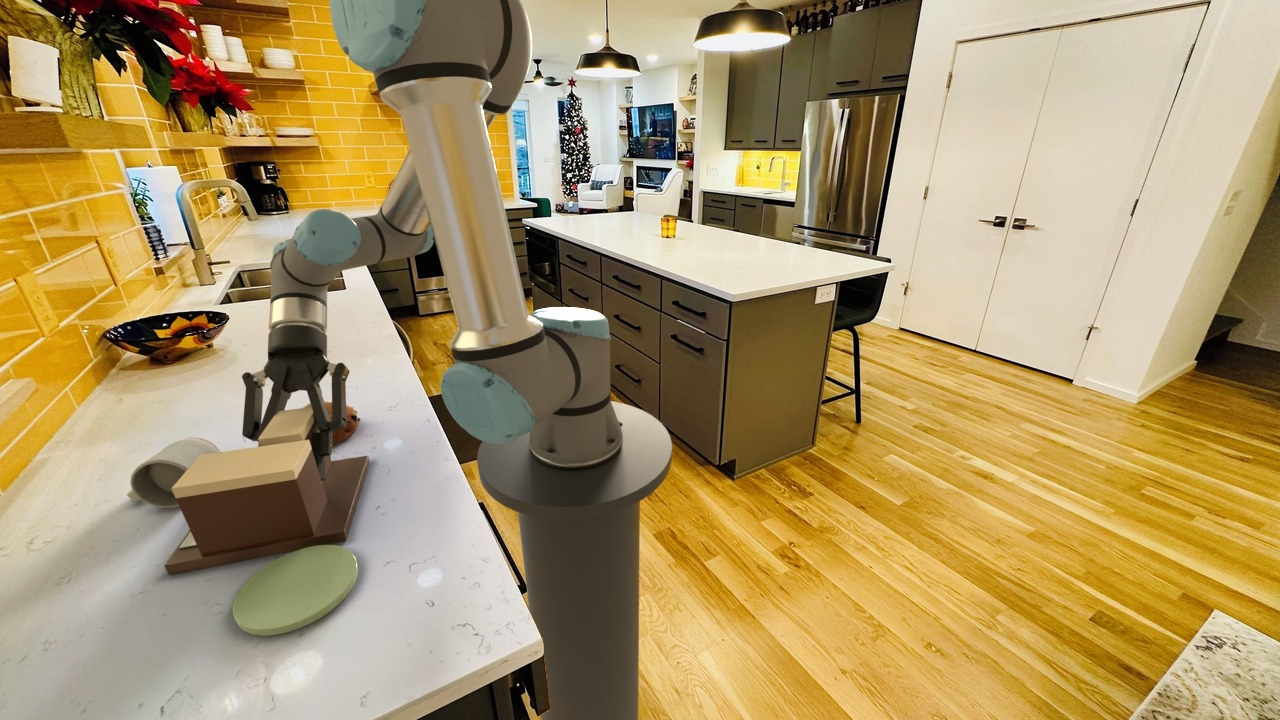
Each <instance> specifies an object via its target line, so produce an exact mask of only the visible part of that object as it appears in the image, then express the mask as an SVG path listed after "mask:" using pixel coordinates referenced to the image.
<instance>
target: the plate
mask: <svg viewBox="0 0 1280 720" xmlns="http://www.w3.org/2000/svg"><path fill="white" fill-rule="evenodd" d="M357 561H358V560H357V557H356V556H355V554H354V553H353V552H352V551H351V550H349V549H348V548H345V547H343V546H340V545H337V544H336V545H335V544H326V545H317V546H311V547H307V548H303V549H300V550H295V551H290V552H288V553H287V554H284V555H282V556H280V557H278V558H276V559H275V560H272V561H271V562H269V563H268V564H266V565H264V566H263V567H262V568H261V569H259V570H258V571H257V572H256V573H254V574H253V575H252V576H251V577H249V579H248V580H247V581H246V582H245V583H244V585H242V586H241V588H240V589H239V591H238V592H237V594H236V595H235V599H234V601H233V605H232V615H233V618H234V620H235V623H236V624H237V626H238V627H239V628H240V629H241V630H242V631H243V632H245V633H247V634H250V635H253V636H260V637H270V636H277V635H284V634H287V633H290V632H294V631H296V630H299V629H302V628H304V627H306V626H308V625H310V624H312V623H314V622H316V621H319V619H321V618H323V617H324V616H326V615H327V614H329V613H330V612H331V611H333V610H334V609H335V608H336V607H338V606H339V605H340V604H341V603H342V602H343V601H344V600H345V599H346V598H347V597H348V596H349V594H350V592H351V591H352V590H353V588H354V586H355V584H356V583H357V580H358V576H359V565H358V562H357Z"/></svg>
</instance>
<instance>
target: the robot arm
mask: <svg viewBox="0 0 1280 720" xmlns="http://www.w3.org/2000/svg"><path fill="white" fill-rule="evenodd" d="M329 11H330V18H331V24H332V28H333V31H334V34H335V37H336V40H337V42H338V44H339V46H340V48H341V50H342V51H343V53H344V54H345V55H347V56H348V58H349V60H350V61H351V62H352V63H353V64H354V65H356V66H358V67H360V68H361V69H363V70H364V71H366V72H370V73H373V77H374V81H375V84H376V88H377V91H378V95H379V97H380V100H381V101H382V103H384V104H386V105H387V106H388V107H390V108H391V109H393V110H394V111H395V112H397V114H398V115H399V116H400V117H401V121H402V125H403V129H404V132H405V136H406V139H407V143H408V147H409V150H408V151H407V153H406V155H405V157H404V159H403V162H402V164H401V165H400V168H399V170H398V172H397V173H396V175H395V178H394V180H393V181H392V183H391V185H390V188H389V189H388V191H387V194H386V196H385V198H384V200H383V202H382V203H381V205H380V207H379V209H378V212H377V213H376V214H373V215H372V214H371V215H367V216H366V215H365V216H359V217H349V216H348V215H346V214H345V213H343V212H341V211H335V210H331V208H330V209H329V208H319V209H316V210H313V211H311V212H310V213H309V214H307V215H306V216H305V218H304V219H303V220H302V221H301V222H300V224H299V225H298V226H296V228H295V230H294V232H293V235H292V237H291V238H289V239H285V240H284V241H281V242H278V243H276V245H275V246H274V248H273V251H272V257H271V258H272V259H270V260H271V261H270V264H269V265H270V266H269V267H270V271H271V272H270V273H271V275H270V299H269V300H270V301H269V303H270V304H269V306H270V307H269V316H268V317H269V318H268V330H269V333H268V339H267V361H266V363H265V365H264V366H263V369H261V370H259V371H256V372H253V373H251V372H248V371H246V372H244V373H243V374H241V379H242V381H243V384H244V386H245V393H244V408H243V418H242V431H241V432H242V433H241V435H242V437H244V438H246V439H248V440H250V441H252V442H257V447H260V445H259V442H258V438H259V437H260V435H261V434H262V432H263V431H264V430H265V428H266V427H267V425H268V424H269V423H270V421H271V420H272V418H273V417H274V416H275V415H276V414H277V413H278V412H279V411H283V410H286V407H287V403H288V400H290V399H291V397H292V394H293V393H296V392H299V391H306V394H307V396H308V400H309V404H310V403H311V406H312V409H313V413H314V416H315V419H316V422H317V425H318V427H317V429H318V430H320V433H319V432H315V433H313V437H312V451H313V455H314V458H315V461H316V465H317V468H318V471H319V475H320V478H321V481H324V480H325V456H329V455H330V456H331V455H332V454H333V445H332V435H333V433H334V432H335V431H337V430H339V429H344V428H346V426H347V419H346V405H347V392H346V389H347V387H346V385H347V384H346V382H347V379H348V377H349V374H350V370H349V368H348V367H347V366H346V364H344V362H338V363H331V362H330V361H329V359H328V335H327V333H328V290H329V286H330V285H331V283H333V282H334V281H335V279H336V278H337V276H338V275H339V274H340V273H341V272H343V271H346V270H351V269H352V270H353V269H356V268H362V267H367V266H371V265H375V264H380V263H384V262H390V261H395V260H400V259H404V258H413V257H415V256H416V257H417V255H420V254H424V253H426V252H429V250H431V248H432V247H433V245H434V243H435V246H436V250H437V254H438V257H439V261H440V266H441V269H442V272H443V276H444V280H445V284H446V287H447V290H448V294H449V298H450V303H451V305H452V309H453V313H454V317H455V320H456V323H457V330H456V332H455V333H454V335H453V336H452V338H451V340H450V342H449V347H450V350H451V354H452V359H453V362H454V363H453V364H451V365H450V366H449V367H448V368H447V369H446V370H445V371H444V373H443V374H442V379H441V381H440V392H441V396H442V401H443V403H444V404H445V407H446V409H447V410H448V412H449V414H450V415H451V417H452V418H453V419H454V420H455V422H456V424H458V425H459V427H461V428H462V429H464V430H465V431H466V432H467V433H468V434H469V435H470V436H472V437H474V438H476V439H477V440H479V441H481V442H482V441H484V442H487V443H491V444H505V443H509V442H511V441H513V440H514V439H516V438H518V437H519V436H521V435H523V434H526V433H528V432H530V431H531V432H530V438H529V445H530V452H531V455H532V456H533V458H534V459H535V460H536V461H537V462H539V463H540V464H542V465H544V466H547V467H549V468H553V469H557V470H565V471H578V470H586V469H591V468H594V467H598V466H600V465H603V464H605V463H607V462H609V461H610V460H612V459H613V458H614V457H615V456H616V455H617V454H618V453H619V452H620V450H621V448H622V430H621V427H622V423H620V422H619V421H618V419H617V416H616V413H615V411H614V408H613V406H612V403H611V401H612V396H611V395H612V394H611V393H612V392H611V341H612V338H611V336H610V335H611V334H610V326H609V321H608V318H607V317H606V316H605V315H604V314H602V313H600V312H599V311H596V310H592V309H588V308H587V309H586V308H580V307H567V306H559V307H558V306H557V307H556V306H555V307H553V306H552V307H546V308H540V309H536V310H534V311H533V312H532V313H531V314H530V313H529V311H528V307H527V303H526V302H527V301H526V298H525V293H524V289H523V284H522V280H521V276H520V271H519V266H518V262H517V258H516V253H515V249H514V243H513V240H512V236H511V231H510V226H509V222H508V217H507V212H506V207H505V204H504V199H503V195H502V191H501V186H500V182H499V178H498V172H497V168H496V164H495V159H494V155H493V150H492V146H491V141H490V137H489V133H488V130H489V128H490V127H491V125H492V123H493V121H494V120H495V118H496V117H497V116H504V115H506V114H508V112H509V111H510V109H511V108H512V106H513V104H514V103H515V102H516V100H517V98H518V96H519V95H520V93H521V90H522V88H523V86H524V84H525V81H526V80H527V78H528V77H527V76H528V73H529V70H530V67H531V61H532V54H533V34H532V29H531V24H530V21H529V19H530V18H529V17H528V13H527V11H526V8H525V7H524V4H523V2H522V1H521V0H329ZM328 372H329V376H330V377H331V402H332V421H330V418H329V415H328V412H327V409H326V406H325V403H324V401H325V400H324V396H323V391H322V388H321V385H320V383H321V381H322V380H323V379H324V377H325V376H326V375H327V374H328ZM267 379H269V380H270V381H271V382H273V383H272V387H271V389H270V392H271V395H270V397H269V401H268V403H267V407H266V409H265V412H264V415H263V404H264V403H263V401H264V389H263V388H264V387H265V386H266V380H267ZM262 415H263V417H262Z"/></svg>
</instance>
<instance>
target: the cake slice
mask: <svg viewBox="0 0 1280 720" xmlns="http://www.w3.org/2000/svg"><path fill="white" fill-rule="evenodd" d="M317 427H318V425H317V422H316V419H315V416H314V413H313V409H312V407H307V408H303V407H301V408H293V409H285V410H283V411H279V412H278V413H277V414H276V415H275V416H274V417H273V418H272V420H271V421H270V423H269V424H268V425H267V427H266V428H265V430H264V431H263V432H262V434H261V435H260V437H259V438H258V441H257V443H258V442H259V445H260V446H267V445H275V444H282V443H289V442H296V441H303V440H309V441H310V445H311V448H312V437H313V433H315V432H319V433H320V430H318V429H317ZM332 461H333V460H332V456H331V455H329V456H325V478H326V475H327V473H328V471H329V468H330V466H331V464H332ZM323 483H324V481H322V485H323Z"/></svg>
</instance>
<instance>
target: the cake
mask: <svg viewBox="0 0 1280 720" xmlns="http://www.w3.org/2000/svg"><path fill="white" fill-rule="evenodd" d="M171 489H172V491H173V493H174V496H175V498H176V500H177V502H178V504H179V507H178V508H179V509H180V511H181V513H182V515H183V517H184V520H185V522H186V524H187V526H188V529H189V530H190V531H191V533H192V535H193V538H194V540H195V542H196V544H197V547H198V549H199V551H200V553H201V555H202V556H203V555H208V554H213V553H219V552H224V551H229V550H235V549H240V548H245V547H251V546H256V545H261V544H267V543H272V542H277V541H282V540H288V539H293V538H298V537H304V536H309V535H314V533H315V531H316V528H317V526H318V523H319V520H320V518H321V515H322V513H323V510H324V508H325V505H326V502H327V498H326V495H325V491H324V488H323V485H322V481H321V478H320V475H319V471H318V468H317V465H316V461H315V458H314V455H313V451H312V448H311V445H310V441H309V440H303V441H296V442H289V443H282V444H275V445H267V446H260V447H258V446H254V447H247V448H240V449H232V450H226V451H220V452H218V453H211V454H203V455H200V456H199V457H198V458H197V459H196V460H195V462H194V463H193V464H192V465H191V466H190V467H189V469H188V470H187V471H186V472H185V473H184V474H183V476H182V477H181V478H180V479H179V480H178V481H177V483H176V484H175V485H174V486H173V487H172V488H171Z"/></svg>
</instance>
